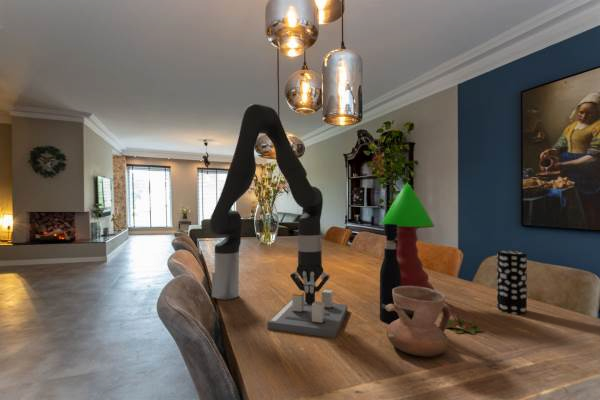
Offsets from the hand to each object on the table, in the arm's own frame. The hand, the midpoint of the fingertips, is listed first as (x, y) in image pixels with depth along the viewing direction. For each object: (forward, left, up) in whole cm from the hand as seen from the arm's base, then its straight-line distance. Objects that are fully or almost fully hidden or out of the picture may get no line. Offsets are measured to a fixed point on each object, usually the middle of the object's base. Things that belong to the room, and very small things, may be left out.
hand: (310, 304), depth 95 cm
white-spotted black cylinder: (+64, +29, -5) cm, 70 cm away
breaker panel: (0, 0, -5) cm, 5 cm away
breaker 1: (+4, -7, -2) cm, 8 cm away
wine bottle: (+24, +7, -5) cm, 26 cm away
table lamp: (+30, +32, -5) cm, 44 cm away
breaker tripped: (-4, 0, -2) cm, 5 cm away
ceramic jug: (+31, -10, -5) cm, 33 cm away
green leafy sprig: (+44, +8, -5) cm, 45 cm away
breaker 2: (+4, +6, -2) cm, 8 cm away
